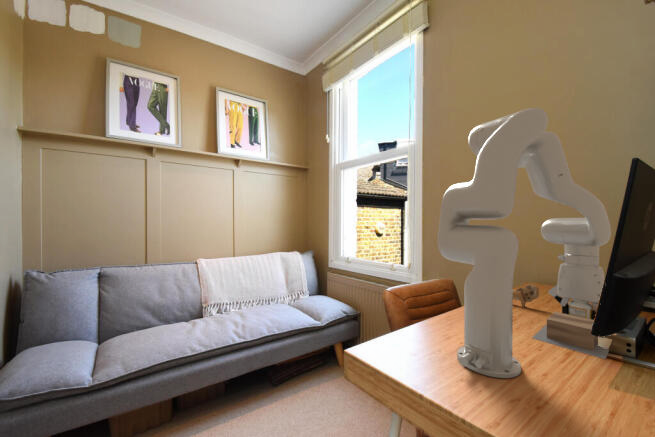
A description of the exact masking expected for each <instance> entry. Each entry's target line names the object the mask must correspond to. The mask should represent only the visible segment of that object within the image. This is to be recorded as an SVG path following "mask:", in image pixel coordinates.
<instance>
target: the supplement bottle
mask: <svg viewBox="0 0 655 437" xmlns="http://www.w3.org/2000/svg"><path fill="white" fill-rule="evenodd" d="M568 305H569V306H568V314H569V315H573V316H578V317H583V318H587V319H592V312H593V310H594V308H593V306H592V303H590V302H586V301H580V300H575V299H571V300H569V302H568Z"/></svg>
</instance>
